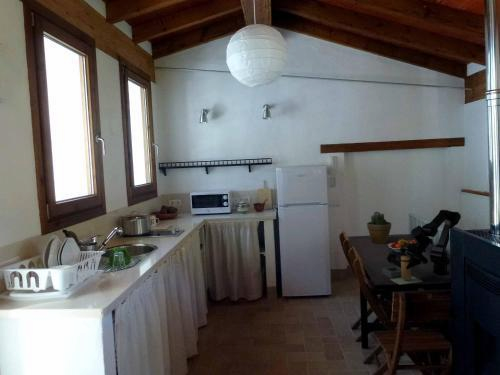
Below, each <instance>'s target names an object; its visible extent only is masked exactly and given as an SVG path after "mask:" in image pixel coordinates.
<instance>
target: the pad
mask: <svg viewBox="0 0 500 375" xmlns="http://www.w3.org/2000/svg"><path fill="white" fill-rule="evenodd" d="M389 279H390V281H392V282H394V283H395V284H398V285H400V286H401V285H407V284H408V285H409V284H416V283H423V280H421V279H419V278H417V277H415V276H412V275H411V279H409V280H405V279H402V277H397V278H389Z"/></svg>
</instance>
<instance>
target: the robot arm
mask: <svg viewBox="0 0 500 375" xmlns="http://www.w3.org/2000/svg"><path fill="white" fill-rule="evenodd" d="M461 218H462V216H461V213H460V212H458V211H452V210H448V209H440V210H439V212H438V214H437V215H436V216H435V217H434V218H433V219H432V220H431V221H430V222H428V223H425V224H424V225H422V226H421V225H417V226H415V227H414V228H413V229H411V231H410V234H411V236H412V238H414V239H415V241H416V242H411V243H410V242H407V241H404V242H403V244H402V246H401V247H400V248H399V249H398V251H399V252H401V254H402V256H410V257H411V261H410V262H409V264H408V265H407V267H406V269H409V268H411V269H412V268H413V267H416V266H419V265H422V264H423V265H427V264H428V263H429V259H428V258H427V257H426V256H425V255H423V253H427V250H426V249H427V248H428V246H429V245H433V244H434V242H433V238H435V237H436V235H437V234H438V233H439V228H440V227H441V226H442V225H443V223H444V225H443V228H442V231H441V234H440V235H439V239H438V242H437V244H436V245H435V246H434V245H433V246H432V248H431V250H430V253H429V258H430V262H431V263H433V265H432V266H433V267H432V268H433V271H432V273H433V274H435V275H437V276H444V274H446V275H449V274H450V273H449V272H448V265H449V264H450V263H451V259H450V257H448V252H447V247H448V244H449V240H450V239H449V229H450V228H453V229H454V227H455V226H456V225H459V222H460V221H461ZM400 266H401V265H400Z"/></svg>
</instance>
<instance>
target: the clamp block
mask: <svg viewBox="0 0 500 375" xmlns="http://www.w3.org/2000/svg"><path fill="white" fill-rule="evenodd" d="M381 269H382V270H381V274H382V275H384V276H386V277H387V278H389V279H397V278H402V276H401V267H398V266H397V265H395V266H388V267H386V266H385V267H382V268H381Z"/></svg>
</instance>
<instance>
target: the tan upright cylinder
mask: <svg viewBox="0 0 500 375" xmlns="http://www.w3.org/2000/svg"><path fill="white" fill-rule="evenodd" d="M410 261H411V257H410V256H403V255H401V256H400V264H401V267H400V268H401V276H402V277H401V278H402V279H405V280H409V279H411V277H412V267H411V268H409V269H406V267H407V265H408V264H409V262H410Z"/></svg>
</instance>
